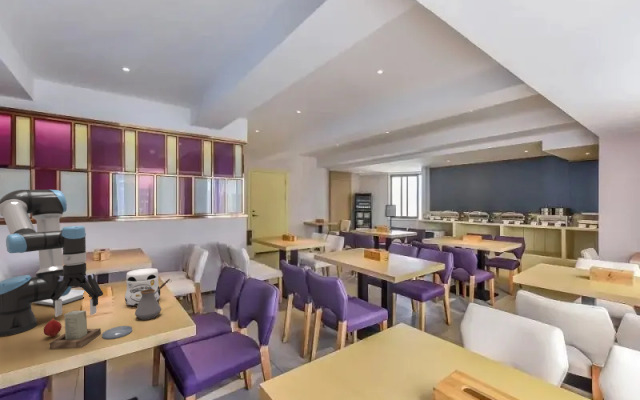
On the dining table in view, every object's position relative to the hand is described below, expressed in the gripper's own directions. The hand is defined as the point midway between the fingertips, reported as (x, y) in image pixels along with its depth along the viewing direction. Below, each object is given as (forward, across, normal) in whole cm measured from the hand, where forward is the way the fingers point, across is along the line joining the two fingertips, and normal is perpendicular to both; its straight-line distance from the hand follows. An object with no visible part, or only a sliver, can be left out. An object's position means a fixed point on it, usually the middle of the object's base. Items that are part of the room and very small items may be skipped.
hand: (76, 314), depth 127 cm
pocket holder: (+11, 0, 0) cm, 11 cm away
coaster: (+11, +13, +6) cm, 18 cm away
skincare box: (+11, 0, 0) cm, 11 cm away
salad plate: (+11, -45, +55) cm, 72 cm away
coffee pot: (+11, +19, +29) cm, 37 cm away
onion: (+11, -13, +5) cm, 18 cm away
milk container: (+11, +5, +45) cm, 47 cm away
